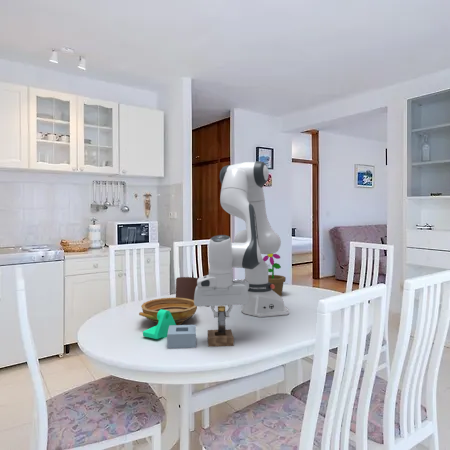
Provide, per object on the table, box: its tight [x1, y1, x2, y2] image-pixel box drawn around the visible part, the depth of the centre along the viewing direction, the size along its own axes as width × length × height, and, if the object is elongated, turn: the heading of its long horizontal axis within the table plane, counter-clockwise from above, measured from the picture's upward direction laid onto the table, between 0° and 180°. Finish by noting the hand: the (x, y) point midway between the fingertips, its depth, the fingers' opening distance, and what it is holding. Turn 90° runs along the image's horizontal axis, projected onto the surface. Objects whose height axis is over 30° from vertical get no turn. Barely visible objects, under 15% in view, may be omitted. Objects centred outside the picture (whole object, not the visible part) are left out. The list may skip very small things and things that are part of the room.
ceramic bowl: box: [138, 297, 198, 325], centre depth 159 cm, size 30×24×8 cm
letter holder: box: [175, 276, 210, 308], centre depth 193 cm, size 10×20×14 cm, turn 64°
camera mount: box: [142, 309, 176, 340], centre depth 143 cm, size 12×8×10 cm, turn 151°
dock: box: [166, 324, 197, 349], centre depth 135 cm, size 10×10×5 cm
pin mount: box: [207, 328, 235, 347], centre depth 136 cm, size 9×9×3 cm
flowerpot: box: [262, 253, 286, 297], centre depth 209 cm, size 14×14×30 cm
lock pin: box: [217, 305, 226, 333], centre depth 136 cm, size 3×3×10 cm
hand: (221, 316), depth 136 cm, fingers closed on lock pin, 3 cm apart
